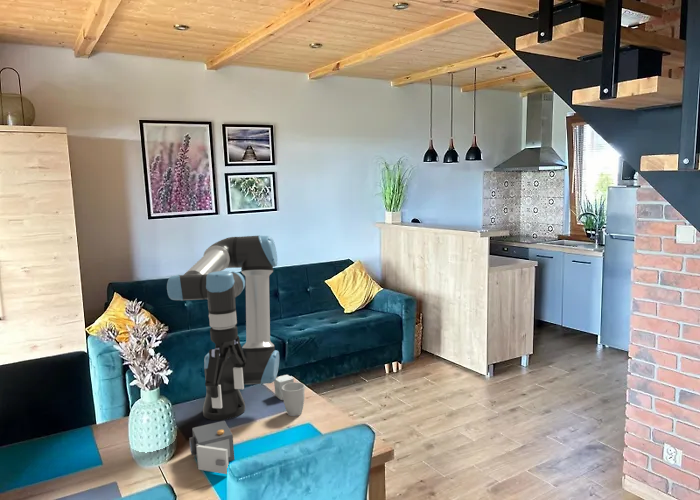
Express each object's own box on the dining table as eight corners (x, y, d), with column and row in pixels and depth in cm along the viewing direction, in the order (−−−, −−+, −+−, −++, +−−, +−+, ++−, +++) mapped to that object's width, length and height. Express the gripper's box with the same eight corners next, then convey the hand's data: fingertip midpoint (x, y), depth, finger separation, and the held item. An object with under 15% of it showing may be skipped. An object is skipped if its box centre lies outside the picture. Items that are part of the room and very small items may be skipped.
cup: (309, 409, 190) (308, 383, 188) (300, 419, 182) (298, 391, 181) (289, 407, 192) (287, 381, 191) (279, 416, 185) (277, 389, 184)
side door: (198, 466, 152) (196, 443, 151) (229, 472, 148) (228, 448, 147) (193, 471, 150) (191, 447, 149) (225, 476, 146) (223, 452, 145)
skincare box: (295, 396, 202) (294, 378, 201) (280, 400, 199) (279, 382, 198) (288, 391, 207) (287, 374, 207) (274, 395, 204) (273, 377, 204)
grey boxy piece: (189, 453, 161) (187, 426, 160) (226, 444, 166) (224, 418, 165) (195, 470, 151) (193, 441, 150) (234, 459, 156) (232, 432, 155)
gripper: (231, 314, 160) (236, 381, 163) (187, 338, 136) (194, 415, 139) (254, 315, 158) (258, 382, 161) (213, 339, 134) (219, 417, 137)
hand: (228, 397), depth 150 cm, fingers open, 13 cm apart
